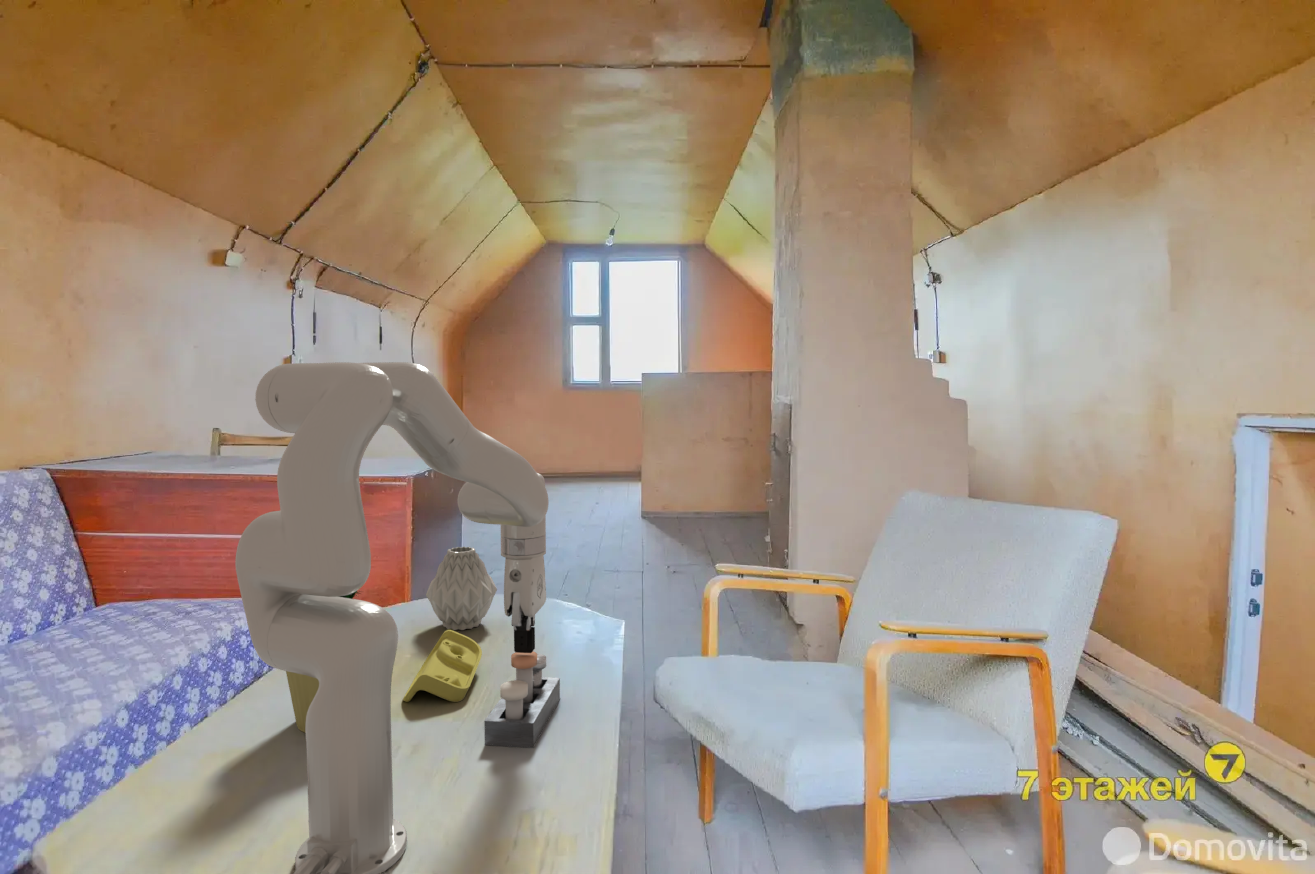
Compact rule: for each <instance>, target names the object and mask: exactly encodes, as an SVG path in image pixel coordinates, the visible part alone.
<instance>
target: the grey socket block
mask: <svg viewBox="0 0 1315 874" xmlns="http://www.w3.org/2000/svg"><path fill="white" fill-rule="evenodd" d="M560 679H561V678H560V677H549V676H548V677H546V676H542V689H535V688H533V704H532V703H523V720H517V719H506V704H505V700H504V699H502V698H501V697H500V699H499V700H498V702H497V703H496V704H495V706H494V707H493V709H492V710H491V711H490V713H489V714H488V715H487V716H486V718H485V719H484V722H483V723H484V727H483V728H484V746H492V747H494V746H496V747H498V746H499V747H514V748H516V747H517V748H531V749H532V748H534V747H535V746H536V744H537V742H538V740H539V739H540V737H541V735H542V733H543V731H544V730H545V728H546V725H547V724H548V722H549V720H550V718H551V716H552V714H553V713H554V710H555V709H556V708H557V705H558V704H559V702H560V699H561V686H560V685H561V683H560V682H561V680H560ZM514 680H516V677H515V679H514Z"/></svg>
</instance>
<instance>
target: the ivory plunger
mask: <svg viewBox="0 0 1315 874" xmlns="http://www.w3.org/2000/svg"><path fill="white" fill-rule="evenodd" d="M499 688H500V689H499V691H500V692H499V694H500V695H499V696H500V699H501V698H502V699H504V700H505V704H506V719H517V720H523V698H525V697H526V696H527V695H528V684H527V683H526V682H524V681H520V680H515V679H513V680H508V681H505V682H503V683H501V684H500V686H499Z"/></svg>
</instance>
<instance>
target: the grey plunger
mask: <svg viewBox="0 0 1315 874" xmlns="http://www.w3.org/2000/svg"><path fill="white" fill-rule="evenodd" d="M546 667H547V656H546V655H544V654H542V653H537V665H536V666H534V667H533V688H535V689H542V677H543V670H544V669H546Z"/></svg>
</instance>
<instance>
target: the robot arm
mask: <svg viewBox="0 0 1315 874" xmlns="http://www.w3.org/2000/svg"><path fill="white" fill-rule="evenodd" d="M448 392H449V391H447V390H446V388H445V387H444V386H443V384H442V383H441V382H440V381H439V379H438V378H437V377H436V376H435V374H434V373H433V371H431V370H429V369H428V368H427V367H426V366H423V365H421V364H419V363H416V362H414V363H413V362H406V361H395V362H394V361H393V362H385V361H384V362H383V361H382V362H349V361H348V362H347V361H346V362H344V361H343V362H340V361H339V362H313V363H312V362H308V363H307V362H305V363H304V362H303V363H302V362H301V363H300V362H299V363H295V362H294V363H283V364H280V365H277V366H275V367H273V368H271V369H270V370H268V371H267V372H266V373H265V374H264V375H263V376H262V377H261V379H260V380H259V382H258V384H257V386H256V390H255V398H254V401H255V403H256V404H255V405H256V406H255V407H256V409H257V411H258V413H259V415H260V417H261V418H262V419H263V420H264V421H265V422H266V423H267V424H268V425H269V426H270V427H272V428H273V429H274V430H275V429H276V430H277V431H280V432H283V433H289V434H294V435H293V436H292V438H291V439H290V441H289V443H288V444H287V446H286V448H285V449H284V452H283V454H282V456H281V457H280V461H279V465H278V468H277V474H276V477H277V478H276V485H277V486H276V487H277V495H278V501H279V503H278V504H279V510H276V511H274V510H273V511H269V512H266V513H263V514H261V515H259V516H258V517H256V518H254V520H252V521H251V522H250V523H249V524H248V525H247V526H246V527H245V528H244V530H243V532H242V534H241V536H240V538H239V540H238V543H237V548H236V553H235V573H236V578H237V583H238V588H239V592H240V596H241V602H242V605H243V610H244V614H245V619H246V622H247V623H246V624H247V628H248V631H249V635H250V640H251V643H252V646H253V648H254V650H255V652H256V654H257V655H258V657H259V659H260V660H261V661H262V662H264V663H265V664H266V665H267V666H270V667H271V668H274V669H278V670H280V671H284V672H286V671H288V672H293V673H298V674H303V675H307V676H310V677H314V678H317V679H318V680H319V688H318V691H317V693H316V695H315V697H314V699H313V700H312V702H311V704H310V706H309V709H308V712H307V716H306V728H305V731H306V733H305V741H306V742H305V744H306V746H305V747H306V773H307V806H308V809H307V810H308V833H309V834H308V838H306V840H305V841H304V842H303V843H302V844H300V846H299V848H298V850H297V851H296V854H295V857H294V858H295V863H294V864H295V865H294V866H295V871H294V873H293V874H382V873H384V872H386V870H387V871H388V870H389V869H390V868H391V867H393V866H394V865H395V864H396V863H397V862H398V861H399V860H400V858H401V857H402V855H403V854H404V853H405V850H406V848H407V845H408V844H407V842H408V836H407V835H408V834H407V829H406V828H405V825H403V824H402V823H401V821H398V820H397V819H395V818H394V795H393V794H394V792H393V791H394V788H393V787H394V785H393V752H392V751H393V749H392V748H393V747H392V742H393V741H392V722H391V721H392V718H391V717H392V714H391V713H392V711H391V709H392V708H391V707H392V706H391V704H392V701H391V697H392V696H391V694H392V680H393V673H394V665H395V661H396V656H397V650H398V649H397V648H398V643H399V631H398V626H397V623H396V621H395V618H394V617H393V616H392V614H390V613H389V612H388V610H386V609H385V608H383V607H381V606H380V605H378V604H375V603H373V602H370V601H366V600H361V599H355V598H352V599H350V598H343V597H339V596H345V595H349V594H351V593H353V592H355V591H357V592H358V591H360V589H362V587H364V585H365V583H366V582H367V581H368V579H369V576H370V575H371V574H370V573H371V569H372V554H371V553H372V552H371V546H370V540H369V535H368V530H367V523H366V517H365V511H364V506H363V505H364V504H363V500H362V494H361V485H360V468H361V463H362V460H363V458H364V454H365V452H366V451H367V449H368V446H369V444H370V443H371V441H372V440H373V438H374V436H375V435H376V433H377V432H378V430H380V428H381V427H382V426H388V427H391V428H393V429H394V430H395V431H396V433H398V434H399V436H400V437H401V438H402V439H403V440H404V441H405V442H406V443H407V444H408V446H410V448H411V449H412V450H413V451H414V452H415V453H416V454H417V455H418V457H420V459H421V460H422V461H423V462H424V464H426V465H427V467H429V468H430V469H432V470H434V471H436V473H437V472H438V473H440V474H442V475H445V476H447V477H449V478H452V479H456V480H457V481H458V480H459V481H463V482H465V483H464V484H463V485H462V486H461V488H460V490H459V492H458V495H457V501H456V502H457V507H458V509H459V512H460V514H461V515H462V516H463V517H464V518H466V519H467V520H468V521H471V522H474V523H478V524H487V525H500V556H501V557H502V558H505V560H504V561H505V562H504V575H503V576H504V579H503V609H504V614H505V616H507V617H510V616H511V627H513V651H514V653H515V652H516V653H532V652H533V651H534V650H535V649H536V627H535V624H536V614H537V613H538V612H539V611H540V610H541V608H542V607H543V606H544V605H545V603H546V602H547V587H546V585H547V582H546V570H545V569H546V568H545V558H544V556H545V555H546V553H547V550H546V549H547V545H546V544H547V542H546V541H547V540H546V539H547V538H546V537H547V535H546V534H547V532H546V531H547V530H546V529H547V527H546V526H547V524H546V523H547V522H546V515H547V512H548V510H549V495H548V490H547V488H546V480H545V478H544V476H543V475H542V474H541V473H538V472H537V471H536V470H535V468H534V467H533V466H532V464H531V463H530V462H529V461H528V460H527V459H526V458H525V457H524V456H522V455H521V454H520V453H518V452H517V451H515V450H514V449H512V448H511V447H509V446H507V445H505V444H503V443H502V442H500V441H499V440H497V439H495V438H494V437H493V436H490V435H489V434H487V433H485V432H483V431H481V430H479V429H477V427H475V426H474V424H472V422H471V421H470V420H469V418H468V417H467V415H466V414H465V413H464V412H463V411H462V410H461V408H460V407H459V405H458V404H457V403H456V402H455V400H454V399H453V398H452V396H451V395H450V393H448Z"/></svg>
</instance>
